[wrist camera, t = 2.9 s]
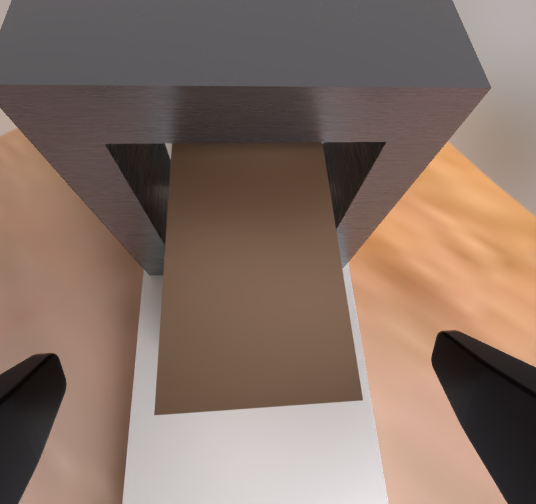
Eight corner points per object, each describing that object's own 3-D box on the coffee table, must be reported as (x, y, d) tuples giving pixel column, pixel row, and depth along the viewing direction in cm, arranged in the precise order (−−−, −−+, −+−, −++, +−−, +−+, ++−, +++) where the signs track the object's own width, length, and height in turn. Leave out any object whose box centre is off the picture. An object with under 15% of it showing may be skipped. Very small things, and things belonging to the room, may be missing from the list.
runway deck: (404, 717, 12) (434, 780, 10) (118, 761, 11) (91, 839, 9) (314, 120, 22) (320, 96, 20) (166, 121, 21) (159, 96, 20)
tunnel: (343, 268, 16) (490, 87, 6) (149, 275, 15) (-21, 84, 6) (332, 198, 17) (437, -33, 8) (155, 202, 17) (30, -48, 7)
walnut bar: (300, 392, 14) (362, 400, 6) (205, 398, 13) (154, 415, 6) (282, 192, 17) (307, 50, 10) (207, 193, 17) (178, 48, 10)
